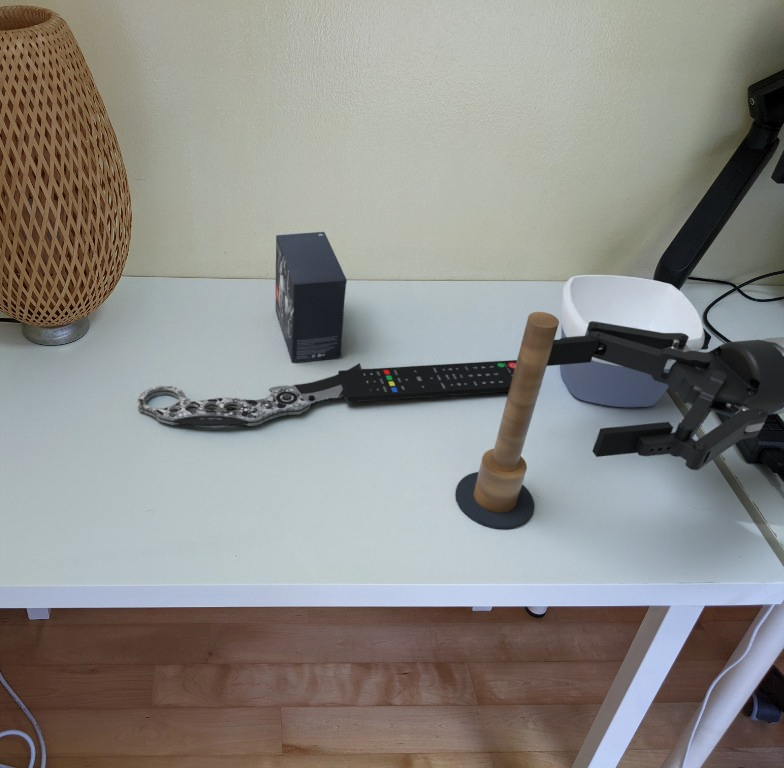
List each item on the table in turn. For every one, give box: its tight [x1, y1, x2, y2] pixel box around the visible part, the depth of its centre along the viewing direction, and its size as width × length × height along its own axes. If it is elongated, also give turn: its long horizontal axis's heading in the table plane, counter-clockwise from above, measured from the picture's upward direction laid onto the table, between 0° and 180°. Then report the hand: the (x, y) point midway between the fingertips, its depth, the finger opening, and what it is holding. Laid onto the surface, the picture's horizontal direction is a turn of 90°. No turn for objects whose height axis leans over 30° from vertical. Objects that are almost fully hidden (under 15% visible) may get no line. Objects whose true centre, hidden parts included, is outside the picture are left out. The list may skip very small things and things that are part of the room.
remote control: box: [337, 359, 517, 403], centre depth 95 cm, size 5×24×1 cm, turn 98°
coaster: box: [454, 471, 535, 530], centre depth 81 cm, size 8×8×1 cm
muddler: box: [474, 311, 560, 513], centre depth 74 cm, size 4×4×22 cm
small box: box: [274, 231, 348, 363], centre depth 101 cm, size 13×7×12 cm, turn 10°
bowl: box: [559, 274, 706, 408], centre depth 94 cm, size 15×15×11 cm
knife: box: [136, 362, 362, 427], centre depth 93 cm, size 28×2×10 cm
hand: (562, 395), depth 73 cm, fingers open, 13 cm apart
